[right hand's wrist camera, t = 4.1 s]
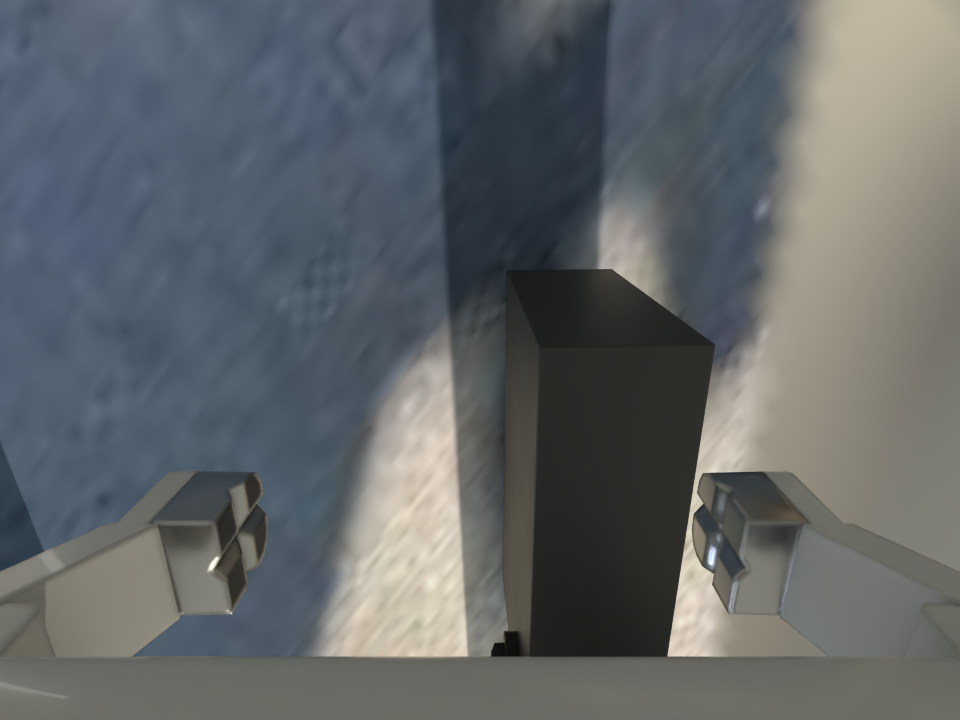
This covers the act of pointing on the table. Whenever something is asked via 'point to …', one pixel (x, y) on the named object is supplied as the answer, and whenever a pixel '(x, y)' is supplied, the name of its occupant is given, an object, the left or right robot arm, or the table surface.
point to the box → (597, 462)
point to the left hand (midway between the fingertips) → (573, 641)
